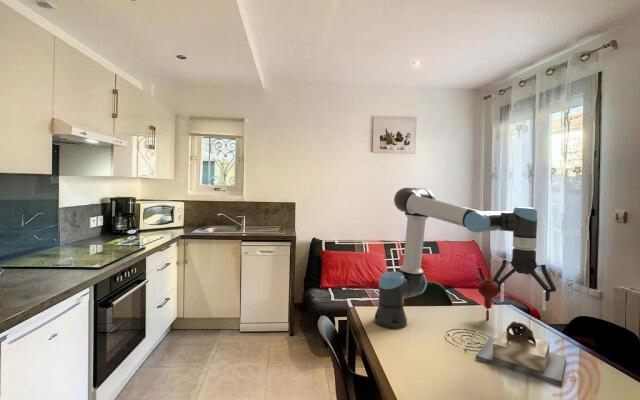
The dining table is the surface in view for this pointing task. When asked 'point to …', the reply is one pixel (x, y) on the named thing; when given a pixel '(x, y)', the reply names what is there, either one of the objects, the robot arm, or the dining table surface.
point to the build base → (547, 375)
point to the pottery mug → (524, 331)
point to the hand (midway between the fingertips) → (522, 305)
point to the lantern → (488, 293)
